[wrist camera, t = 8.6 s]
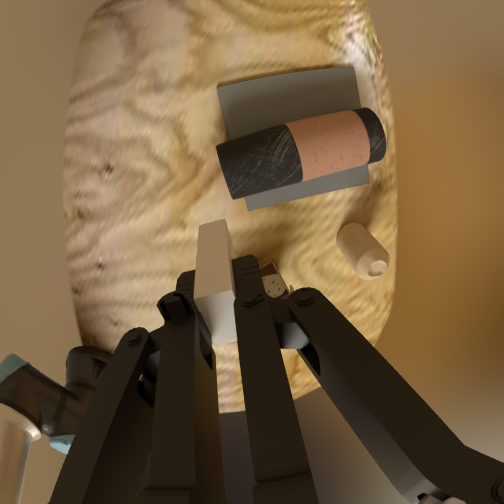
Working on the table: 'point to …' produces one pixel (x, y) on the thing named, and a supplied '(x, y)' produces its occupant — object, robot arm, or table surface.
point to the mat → (288, 110)
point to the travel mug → (301, 151)
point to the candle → (362, 251)
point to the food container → (274, 282)
